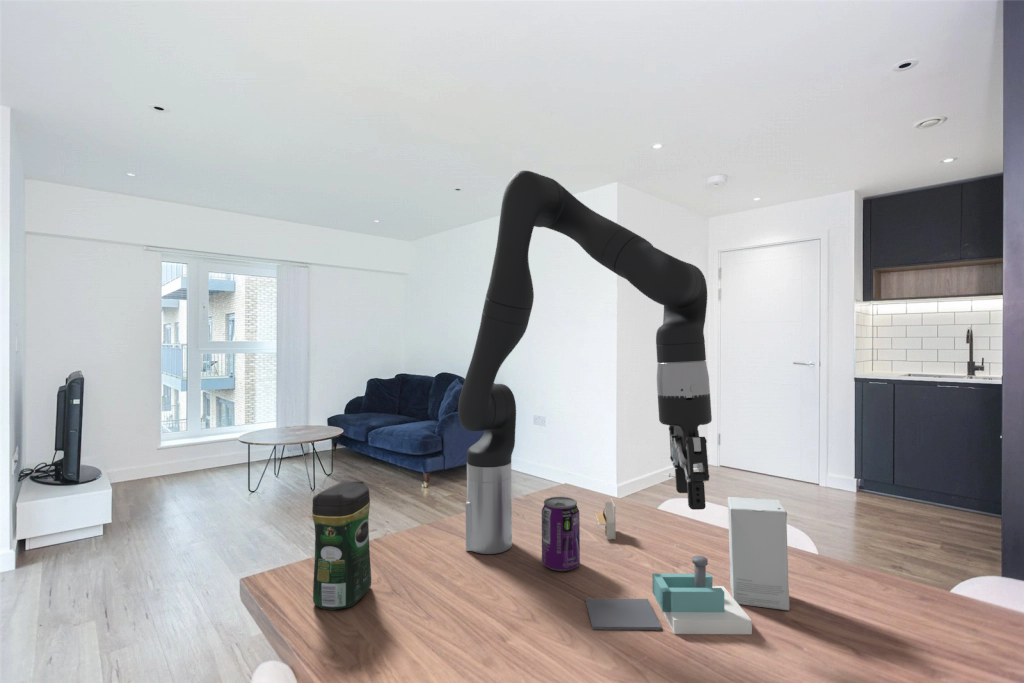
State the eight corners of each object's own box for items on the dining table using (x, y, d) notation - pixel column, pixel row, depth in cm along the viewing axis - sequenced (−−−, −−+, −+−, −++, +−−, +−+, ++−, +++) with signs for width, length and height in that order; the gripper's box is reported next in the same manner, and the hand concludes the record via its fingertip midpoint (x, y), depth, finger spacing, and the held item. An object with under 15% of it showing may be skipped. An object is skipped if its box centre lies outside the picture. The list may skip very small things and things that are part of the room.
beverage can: (578, 575, 89) (578, 508, 89) (539, 572, 91) (538, 506, 91) (581, 558, 96) (580, 496, 96) (544, 555, 98) (544, 494, 98)
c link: (662, 611, 73) (662, 591, 73) (652, 592, 79) (652, 573, 79) (724, 612, 73) (724, 591, 73) (709, 592, 79) (709, 573, 79)
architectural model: (599, 541, 106) (599, 506, 106) (595, 529, 113) (595, 496, 113) (615, 541, 105) (615, 506, 105) (611, 529, 112) (610, 496, 112)
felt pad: (592, 629, 72) (592, 626, 72) (585, 601, 80) (585, 598, 80) (661, 629, 72) (661, 627, 72) (647, 601, 80) (647, 598, 80)
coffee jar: (335, 581, 88) (334, 475, 88) (377, 584, 86) (377, 477, 86) (303, 610, 78) (302, 492, 78) (350, 614, 77) (349, 494, 77)
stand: (674, 633, 71) (673, 573, 71) (655, 598, 81) (655, 545, 81) (751, 634, 71) (751, 574, 71) (723, 598, 81) (723, 545, 81)
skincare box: (782, 593, 82) (781, 499, 83) (790, 613, 76) (789, 512, 76) (727, 585, 85) (727, 494, 85) (731, 604, 79) (730, 506, 79)
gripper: (650, 390, 83) (656, 488, 82) (666, 396, 69) (673, 515, 68) (697, 388, 82) (704, 487, 81) (723, 394, 68) (731, 514, 67)
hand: (690, 500), depth 74 cm, fingers open, 8 cm apart
